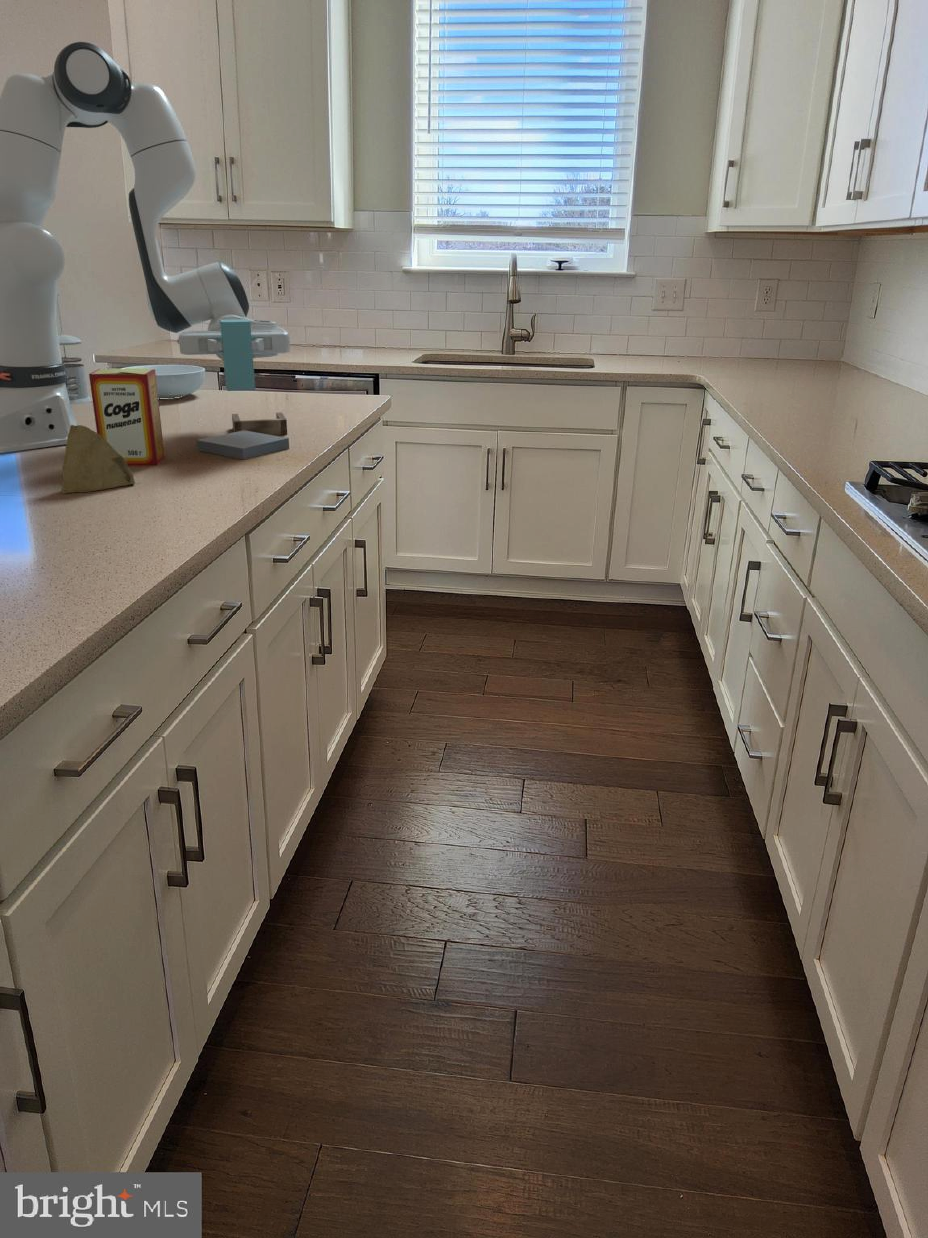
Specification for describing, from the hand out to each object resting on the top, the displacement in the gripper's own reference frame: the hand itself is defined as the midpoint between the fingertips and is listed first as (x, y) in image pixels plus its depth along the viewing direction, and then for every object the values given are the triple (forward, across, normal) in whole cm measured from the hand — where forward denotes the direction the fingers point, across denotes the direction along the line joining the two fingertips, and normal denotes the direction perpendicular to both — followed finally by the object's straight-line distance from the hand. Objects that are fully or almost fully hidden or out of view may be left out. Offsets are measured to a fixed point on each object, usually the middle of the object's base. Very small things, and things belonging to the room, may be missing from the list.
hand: (237, 346), depth 165 cm
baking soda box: (+5, -20, +19) cm, 28 cm away
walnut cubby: (-19, +4, +19) cm, 27 cm away
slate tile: (-1, 0, +19) cm, 19 cm away
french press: (-65, -37, +19) cm, 77 cm away
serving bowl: (-67, -15, +19) cm, 71 cm away
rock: (+23, -24, +19) cm, 39 cm away
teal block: (-1, 0, +8) cm, 8 cm away
